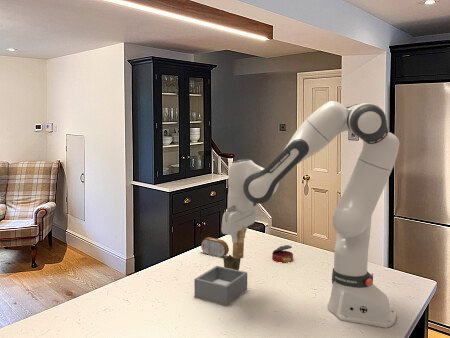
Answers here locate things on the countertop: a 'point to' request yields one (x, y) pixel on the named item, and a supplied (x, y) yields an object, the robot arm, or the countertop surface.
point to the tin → (214, 247)
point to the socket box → (220, 285)
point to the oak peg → (239, 245)
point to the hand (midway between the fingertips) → (238, 240)
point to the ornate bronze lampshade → (231, 262)
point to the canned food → (282, 254)
